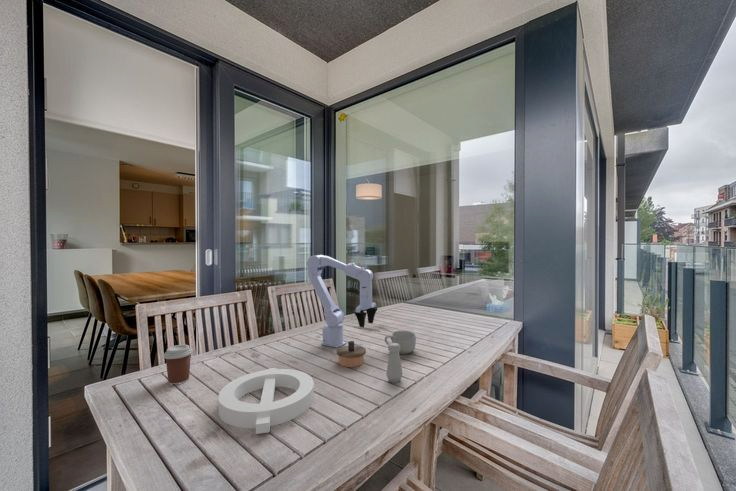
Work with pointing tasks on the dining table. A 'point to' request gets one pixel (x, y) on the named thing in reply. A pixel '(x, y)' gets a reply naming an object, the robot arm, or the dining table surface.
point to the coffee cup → (178, 363)
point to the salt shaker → (394, 363)
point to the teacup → (403, 341)
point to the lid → (351, 350)
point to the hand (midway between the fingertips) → (366, 325)
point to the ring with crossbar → (265, 399)
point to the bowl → (351, 361)
